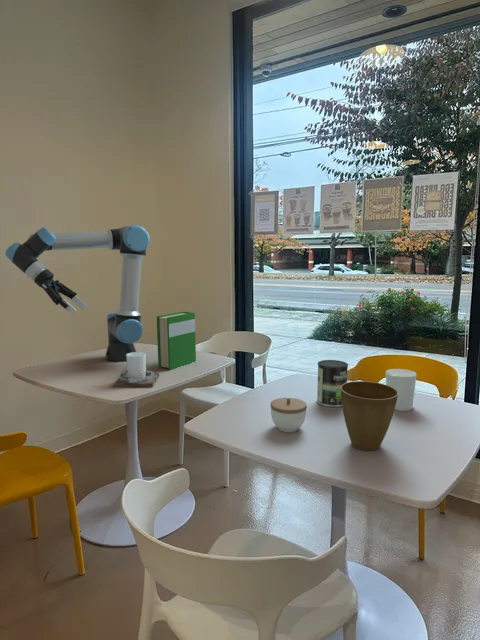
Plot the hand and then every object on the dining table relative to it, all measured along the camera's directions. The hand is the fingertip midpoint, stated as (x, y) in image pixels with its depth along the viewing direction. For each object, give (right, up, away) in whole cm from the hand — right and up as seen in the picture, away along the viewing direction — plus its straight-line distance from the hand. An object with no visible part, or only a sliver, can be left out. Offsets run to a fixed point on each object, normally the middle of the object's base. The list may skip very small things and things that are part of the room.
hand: (79, 310), depth 180 cm
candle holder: (+122, -34, -34) cm, 131 cm away
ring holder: (+25, -29, -4) cm, 39 cm away
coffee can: (+100, -33, -29) cm, 109 cm away
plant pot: (+102, -39, -62) cm, 126 cm away
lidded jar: (+82, -37, -51) cm, 103 cm away
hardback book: (+38, -25, +22) cm, 51 cm away
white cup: (+25, -28, -4) cm, 38 cm away
